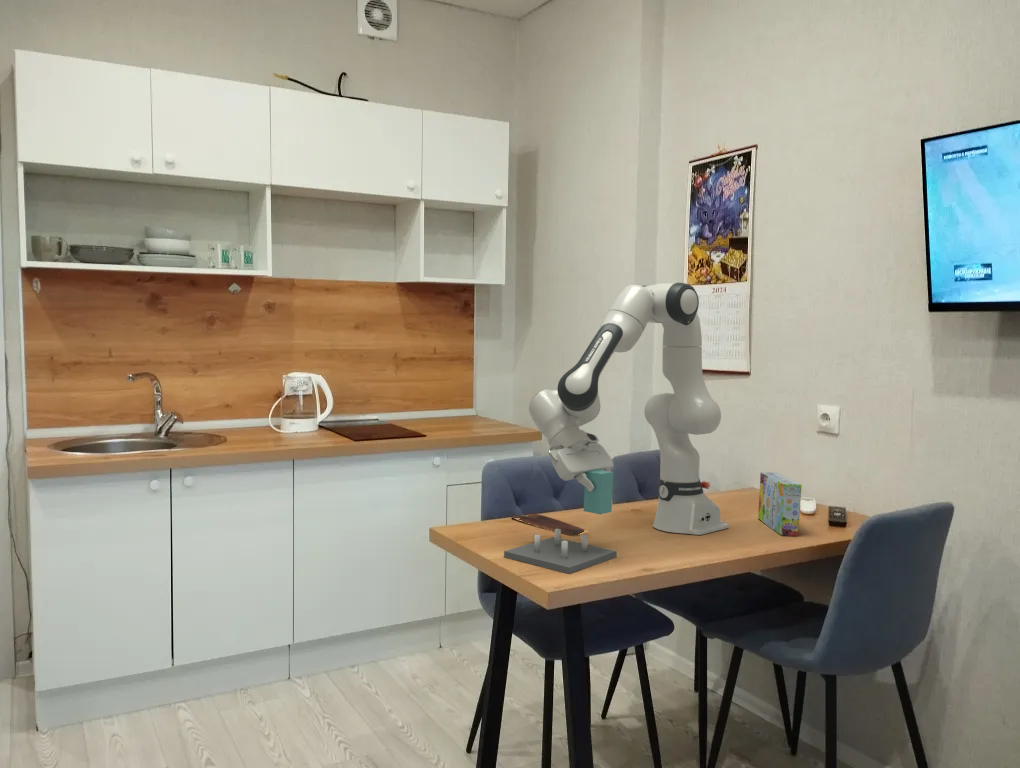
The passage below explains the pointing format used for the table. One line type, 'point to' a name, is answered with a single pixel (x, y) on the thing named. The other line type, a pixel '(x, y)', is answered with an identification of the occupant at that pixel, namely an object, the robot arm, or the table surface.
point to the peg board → (560, 553)
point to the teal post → (599, 492)
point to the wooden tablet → (550, 524)
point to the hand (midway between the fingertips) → (600, 488)
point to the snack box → (779, 503)
